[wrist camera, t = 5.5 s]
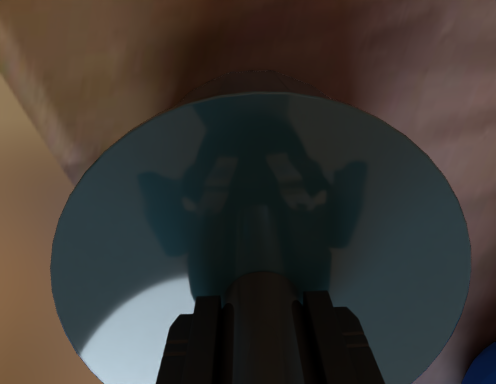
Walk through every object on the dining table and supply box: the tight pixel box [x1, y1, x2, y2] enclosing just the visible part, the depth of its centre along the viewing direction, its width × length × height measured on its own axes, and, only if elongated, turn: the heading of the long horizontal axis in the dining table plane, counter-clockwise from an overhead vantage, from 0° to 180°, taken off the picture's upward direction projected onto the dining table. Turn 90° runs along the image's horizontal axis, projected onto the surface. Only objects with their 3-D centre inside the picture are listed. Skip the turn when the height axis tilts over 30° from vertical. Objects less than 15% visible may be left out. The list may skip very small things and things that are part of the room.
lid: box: [50, 89, 471, 384], centre depth 10 cm, size 14×14×6 cm
